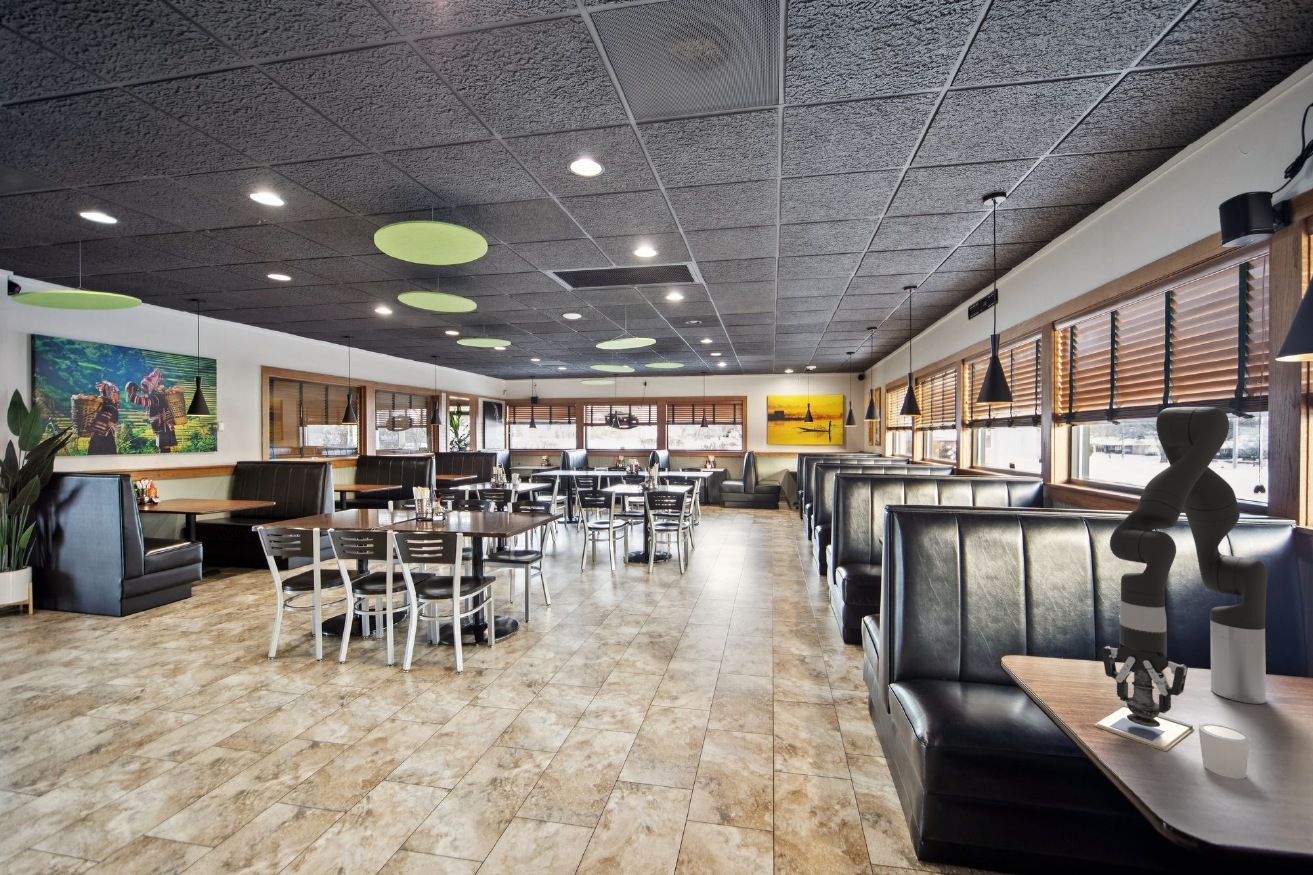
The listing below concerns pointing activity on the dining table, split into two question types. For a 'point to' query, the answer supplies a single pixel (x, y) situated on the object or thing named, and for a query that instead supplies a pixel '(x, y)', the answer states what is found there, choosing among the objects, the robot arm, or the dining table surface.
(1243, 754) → the shot glass
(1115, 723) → the order pad
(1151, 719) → the dark grey chess bishop
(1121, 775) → the dining table surface
